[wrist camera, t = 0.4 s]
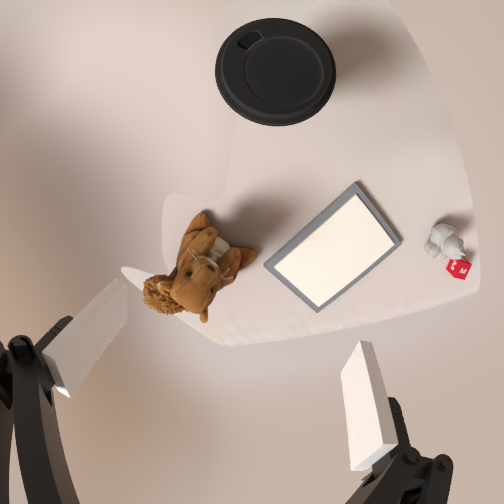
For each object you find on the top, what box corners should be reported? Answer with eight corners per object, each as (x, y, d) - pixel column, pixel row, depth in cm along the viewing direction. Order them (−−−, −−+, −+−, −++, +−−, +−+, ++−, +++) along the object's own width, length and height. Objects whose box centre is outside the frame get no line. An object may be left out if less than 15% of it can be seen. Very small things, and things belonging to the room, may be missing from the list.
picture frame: (354, 182, 34) (356, 184, 33) (399, 241, 38) (402, 244, 37) (263, 263, 40) (263, 267, 39) (316, 310, 44) (317, 314, 43)
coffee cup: (247, 46, 27) (237, -3, 14) (319, 71, 28) (357, 40, 15) (221, 111, 31) (192, 103, 18) (293, 136, 32) (316, 145, 19)
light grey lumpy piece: (452, 239, 37) (479, 262, 30) (422, 258, 39) (447, 284, 32) (446, 212, 35) (475, 231, 28) (414, 231, 37) (441, 255, 30)
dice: (462, 256, 39) (471, 264, 36) (456, 271, 40) (464, 279, 37) (452, 253, 38) (461, 261, 36) (445, 268, 40) (454, 277, 37)
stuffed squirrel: (262, 250, 39) (262, 308, 28) (198, 305, 44) (179, 366, 32) (210, 200, 36) (185, 240, 25) (150, 264, 41) (114, 318, 29)
